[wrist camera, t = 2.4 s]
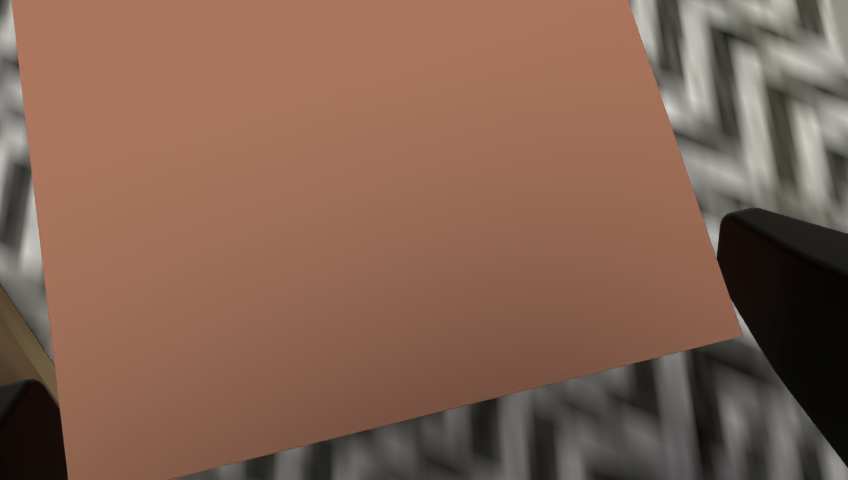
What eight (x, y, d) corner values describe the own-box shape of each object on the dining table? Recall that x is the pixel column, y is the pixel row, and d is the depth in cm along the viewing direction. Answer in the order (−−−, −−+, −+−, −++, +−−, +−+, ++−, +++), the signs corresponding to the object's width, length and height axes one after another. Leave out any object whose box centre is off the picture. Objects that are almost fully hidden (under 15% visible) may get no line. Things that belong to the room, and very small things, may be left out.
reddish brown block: (507, 374, 18) (743, 336, 5) (322, 421, 17) (72, 503, 5) (461, 199, 19) (557, -204, 6) (286, 238, 18) (-2, -98, 6)
